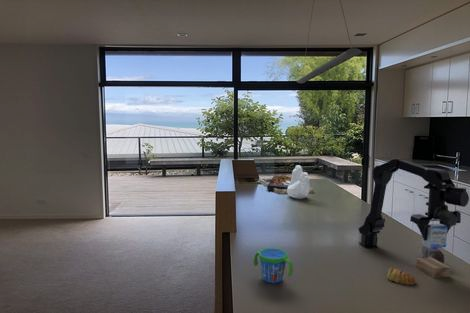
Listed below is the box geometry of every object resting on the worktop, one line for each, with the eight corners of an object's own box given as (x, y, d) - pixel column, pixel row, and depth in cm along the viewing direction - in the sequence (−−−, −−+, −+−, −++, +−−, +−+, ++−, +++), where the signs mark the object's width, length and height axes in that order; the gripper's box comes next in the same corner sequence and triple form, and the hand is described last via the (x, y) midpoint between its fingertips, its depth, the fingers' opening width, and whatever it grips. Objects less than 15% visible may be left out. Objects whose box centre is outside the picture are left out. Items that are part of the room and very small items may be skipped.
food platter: (297, 193, 281) (298, 180, 280) (267, 190, 286) (268, 178, 285) (299, 182, 324) (300, 171, 323) (273, 180, 330) (274, 169, 328)
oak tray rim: (276, 193, 277) (277, 190, 276) (258, 182, 327) (259, 178, 327) (314, 192, 283) (314, 189, 283) (290, 181, 334) (290, 178, 334)
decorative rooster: (285, 194, 274) (286, 163, 271) (304, 195, 274) (306, 164, 272) (291, 202, 249) (293, 168, 246) (313, 202, 249) (314, 168, 247)
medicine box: (430, 249, 134) (431, 227, 133) (421, 245, 139) (422, 224, 138) (446, 247, 136) (447, 226, 135) (437, 243, 141) (438, 222, 140)
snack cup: (247, 277, 129) (247, 251, 128) (264, 268, 137) (265, 244, 136) (281, 292, 119) (282, 263, 118) (298, 282, 126) (299, 255, 125)
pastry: (416, 281, 130) (416, 271, 129) (413, 288, 124) (414, 278, 124) (389, 274, 135) (389, 265, 135) (385, 280, 130) (386, 271, 129)
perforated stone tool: (417, 253, 157) (418, 239, 156) (429, 254, 156) (431, 239, 155) (431, 267, 142) (432, 251, 141) (444, 268, 141) (446, 252, 141)
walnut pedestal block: (433, 278, 133) (434, 268, 132) (416, 267, 142) (416, 258, 142) (449, 277, 134) (450, 267, 133) (431, 266, 144) (431, 257, 143)
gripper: (432, 207, 126) (429, 248, 127) (474, 205, 130) (471, 245, 131) (410, 200, 137) (408, 238, 138) (450, 198, 141) (447, 236, 142)
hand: (434, 239), depth 137 cm, fingers closed on medicine box, 8 cm apart
